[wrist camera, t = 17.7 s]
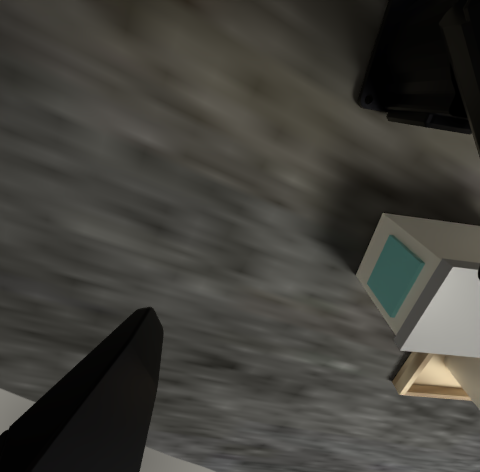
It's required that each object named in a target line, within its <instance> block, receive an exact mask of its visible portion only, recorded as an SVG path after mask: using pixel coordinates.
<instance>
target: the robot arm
mask: <svg viewBox="0 0 480 472" xmlns="http://www.w3.org/2000/svg"><path fill="white" fill-rule="evenodd" d="M367 95H369V97H370V101H369V102H368V103H367V104H366V103H365V102H364V100H365V97H366V96H367ZM358 105H359V106H360V107H361V108H364V109H370V110H376V111H382V112H388V114H387V116H386V117H387V119H388V121H392V122H398V123H404V124H410V125H416V126H422V127H428V128H434V129H440V130H446V131H452V132H458V133H464V134H473V137H474V140H475V144H476V147H477V150H478V154H479V157H480V0H389V2H388V5H387V9H386V12H385V15H384V18H383V21H382V24H381V28H380V31H379V34H378V37H377V40H376V43H375V47H374V50H373V53H372V56H371V59H370V62H369V66H368V69H367V72H366V75H365V78H364V81H363V85H362V88H361V91H360V94H359V97H358ZM478 278H479V280H480V265H479V269H478ZM162 344H163V327H162V325H161V323H160V321H159V319H158V317H157V315H156V312H155V311H154V309H153V308H152V307H146V308H141V309H137V310H136V311H135V312H134V313H133V314H131V315H130V316H129V317H128V318H127V319H126V320H125V321H124V322H123V323H122V324H121V325H120V326H118V327H117V328H116V329H115V330H114V331H113V332H112V333H111V334H110V335H109V336H108V337H107V338H105V339H104V340H103V341H102V342H101V343H100V344H99V345H98V346H97V347H96V348H95V349H94V350H92V351H91V352H90V353H89V354H88V355H87V356H86V357H85V358H84V359H83V360H82V361H80V362H79V363H78V364H77V365H76V366H75V367H74V368H73V369H72V370H71V371H70V372H69V373H67V374H66V375H65V376H64V377H63V378H62V379H61V380H60V381H59V382H58V383H57V384H56V385H54V386H53V387H52V388H51V389H50V390H49V391H48V392H47V393H46V394H45V395H44V396H42V397H41V398H40V399H39V400H38V401H37V402H36V403H35V404H34V405H33V406H32V407H31V408H29V409H28V410H27V411H26V412H25V413H24V414H23V415H22V416H21V417H20V418H19V419H18V420H16V421H15V422H14V423H13V424H12V425H11V426H10V428H9V430H6V431H4V432H3V433H2V434H1V435H0V472H139V471H140V467H141V462H142V458H143V453H144V448H145V444H146V439H147V434H148V430H149V425H150V421H151V416H152V411H153V407H154V402H155V398H156V392H157V387H158V380H159V371H160V362H161V353H162Z"/></svg>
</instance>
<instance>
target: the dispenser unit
mask: <svg viewBox="0 0 480 472" xmlns="http://www.w3.org/2000/svg"><path fill="white" fill-rule="evenodd" d="M479 265H480V226H476V225H469V224H461V223H454V222H447V221H439V220H432V219H425V218H417V217H410V216H402V215H395V214H388V213H382V216H381V218H380V220H379V223H378V225H377V227H376V230H375V232H374V234H373V236H372V239H371V241H370V243H369V246H368V248H367V250H366V253H365V255H364V257H363V260H362V262H361V264H360V266H359V269H358V271H357V273H356V276H357V278H358V279H359V281H360V282H361V284H362V285H363V287H364V288H365V290H366V291H367V293H368V294H369V296H370V297H371V299H372V301H373V302H374V304H375V305H376V307H377V308H378V310H379V311H380V313H381V314H382V316H383V317H384V319H385V320H386V322H387V323H388V325H389V326H390V328H391V329H392V331H393V332H394V334H395V335H396V336H395V338H394V342H395V343H396V345H397V347H398V348H399V350H401V351H412V352H422V353H433V354H444V355H455V356H465V357H476V358H480V280H479V278H478V269H479Z"/></svg>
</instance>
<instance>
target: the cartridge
mask: <svg viewBox="0 0 480 472" xmlns="http://www.w3.org/2000/svg"><path fill="white" fill-rule="evenodd" d="M444 364H445V366H446V367H447V369H448V370H449V371H450V372H451V374H452V375H453V376H454V378H455V379H456V380H457V382H458V383H459V384H460V385H461V387H462V388H463V389H464V391H465V392H466V393H467V395H468V396H469V397H470V398H471V400H472V401H473V402H474V404H475V405H476V406H477V407H478V409H479V410H480V358H476V357H465V356H455V355H446V357H445V359H444Z"/></svg>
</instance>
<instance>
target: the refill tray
mask: <svg viewBox="0 0 480 472" xmlns="http://www.w3.org/2000/svg"><path fill="white" fill-rule="evenodd" d="M445 357H446V355H444V354H433V353H422V352H412V353H411V354H410V356H409V357H408V359H407V360H406V362H405V363H404V365H403V366H402V368H401V369H400V371H399V372H398V374H397V375H396V377H395V378H394V380H393V381H392V383H393V384H394V386H395V388H396V390H397V392H398V394H399V395H408V396H421V397H434V398H446V399H459V400H471V398H470V397H469V396H468V395H467V393H466V392H465V391H464V389H463V388H462V387H461V385H460V384H459V383H458V382H457V380H456V379H455V378H454V376H453V375H452V374H451V372H450V371H449V370H448V369H447V367H446V366H445V364H444V359H445Z"/></svg>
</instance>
